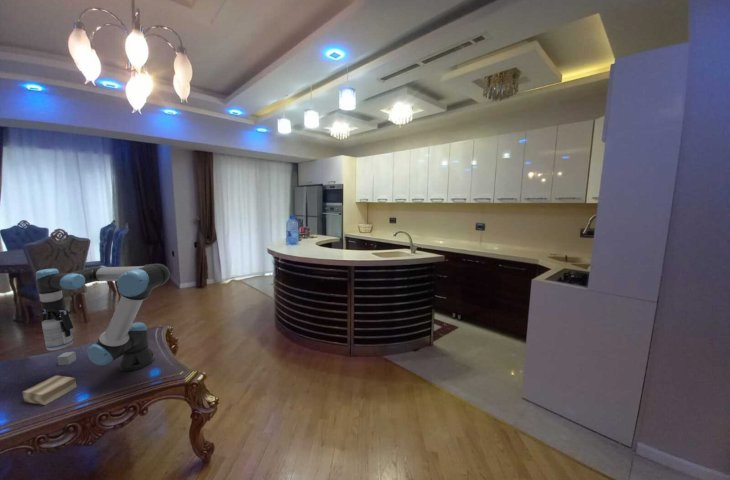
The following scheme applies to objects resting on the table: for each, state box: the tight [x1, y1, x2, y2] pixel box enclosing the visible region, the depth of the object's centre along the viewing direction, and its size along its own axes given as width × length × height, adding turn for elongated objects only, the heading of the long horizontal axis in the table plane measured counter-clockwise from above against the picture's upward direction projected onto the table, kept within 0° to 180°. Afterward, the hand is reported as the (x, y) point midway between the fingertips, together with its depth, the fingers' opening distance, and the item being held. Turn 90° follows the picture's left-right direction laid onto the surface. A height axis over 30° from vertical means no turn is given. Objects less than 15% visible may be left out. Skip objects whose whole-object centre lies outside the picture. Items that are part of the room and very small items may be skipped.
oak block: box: [22, 375, 77, 406], centre depth 131 cm, size 12×12×5 cm
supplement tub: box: [41, 316, 74, 352], centre depth 141 cm, size 10×10×15 cm
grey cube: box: [56, 351, 77, 366], centre depth 156 cm, size 5×5×5 cm
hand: (59, 341), depth 142 cm, fingers closed on supplement tub, 10 cm apart
